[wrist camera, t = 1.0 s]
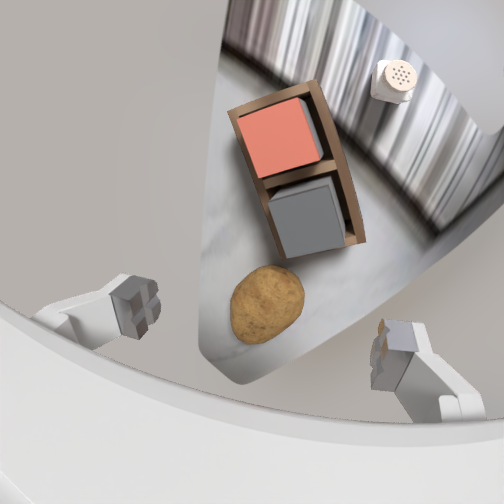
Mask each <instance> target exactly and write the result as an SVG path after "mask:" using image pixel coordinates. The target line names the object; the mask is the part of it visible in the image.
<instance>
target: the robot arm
mask: <svg viewBox="0 0 504 504" xmlns="http://www.w3.org/2000/svg"><path fill="white" fill-rule="evenodd" d="M157 292H158V286H157V283H156V282H155V281H154V280H151V279H147V278H143V277H138V276H135V275H131V274H126V273H121V274H120V275H118V276H117V277H116V278H115V279H113V280H112V281H111V282H109V283H108V284H107V285H106V286H105V287H103V288H102V289H101V290H99V291H98V292H97V291H93V292H90V293H86V294H83V295H80V296H76V297H73V298H69V299H66V300H62V301H59V302H55V303H52V304H49V305H46V306H45V307H44V308H43V309H41V310H40V311H39V312H37V313H36V314H35V315H34V316H32V317H31V318H28V317H26V316H25V315H23V314H21V313H19V312H17V311H16V310H15V309H13V308H11V307H10V306H8V305H6V304H5V303H3V302H2V301H0V504H504V418H498V419H490V420H487V417H486V413H485V409H484V406H483V402H482V399H481V395H480V393H479V392H477V390H476V389H474V388H473V387H472V386H471V385H470V384H469V383H468V382H467V381H466V380H465V379H464V378H463V377H462V376H461V375H460V374H459V373H457V372H456V371H455V370H454V369H453V368H452V367H451V366H450V365H449V364H448V363H447V362H446V361H444V360H443V359H442V358H441V357H440V356H439V355H438V354H434V353H433V351H432V347H431V344H430V341H429V337H428V334H427V331H426V328H425V324H424V323H423V322H414V321H399V320H389V319H382V320H381V322H380V324H379V327H378V334H379V336H377V337H376V338H375V339H374V342H373V345H372V350H371V355H370V365H371V366H372V368H373V370H372V372H371V389H373V390H381V391H391V392H394V393H395V395H396V396H397V398H398V399H399V401H400V402H401V404H402V405H403V407H404V408H405V410H406V411H407V413H408V414H409V416H410V417H411V419H412V420H413V422H414V423H385V422H369V421H368V422H367V421H356V420H346V419H345V420H344V419H336V418H328V417H321V416H313V415H307V414H300V413H294V412H289V411H283V410H278V409H273V408H268V407H264V406H259V405H254V404H250V403H246V402H241V401H237V400H233V399H229V398H225V397H222V396H218V395H214V394H210V393H207V392H203V391H200V390H197V389H193V388H190V387H187V386H183V385H180V384H177V383H174V382H171V381H168V380H165V379H162V378H159V377H156V376H153V375H151V374H148V373H146V372H143V371H140V370H138V369H135V368H131V367H130V366H127V365H125V364H122V363H120V362H117V361H115V360H112V359H110V358H108V357H106V356H103V355H101V354H99V353H96V352H94V351H92V350H94V349H96V348H98V347H100V346H102V345H104V344H106V343H108V342H110V341H112V340H114V339H115V338H118V337H120V336H121V335H124V336H127V337H130V338H134V339H137V340H140V339H141V338H142V336H143V335H144V334H145V333H146V332H147V331H148V325H150V324H153V323H155V321H156V320H157V319H158V317H159V314H160V312H161V303H160V300H159V298H158V297H157V295H156V293H157Z"/></svg>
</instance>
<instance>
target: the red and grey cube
mask: <svg viewBox="0 0 504 504" xmlns="http://www.w3.org/2000/svg"><path fill="white" fill-rule="evenodd" d="M236 120H237V122H238V125H239V128H240V130H241V133H242V135H243V138H244V141H245V143H246V146H247V149H248V151H249V154H250V157H251V159H252V162H253V165H254V167H255V170H256V173H257V176H258V178H262V177H265V176H268V175H271V174H274V173H278V172H281V171H284V170H288V169H291V168H294V167H298V166H301V165H305V164H308V163H312V162H315V161H319V160H320V159H321V157H322V156H323V154H324V152H323V149H322V146H321V143H320V140H319V137H318V134H317V132H316V129H315V126H314V123H313V120H312V118H311V115H310V112H309V110H308V107H307V104H306V102H305V101H303V100H301V99H299V98H298V97H297V98H294V99H291V100H288V101H285V102H282V103H279V104H276V105H273V106H271V107H268V108H265V109H262V110H260V111H257V112H254V113H252V114H249V115H246V116H244V117H241V118H239V119H236Z"/></svg>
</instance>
